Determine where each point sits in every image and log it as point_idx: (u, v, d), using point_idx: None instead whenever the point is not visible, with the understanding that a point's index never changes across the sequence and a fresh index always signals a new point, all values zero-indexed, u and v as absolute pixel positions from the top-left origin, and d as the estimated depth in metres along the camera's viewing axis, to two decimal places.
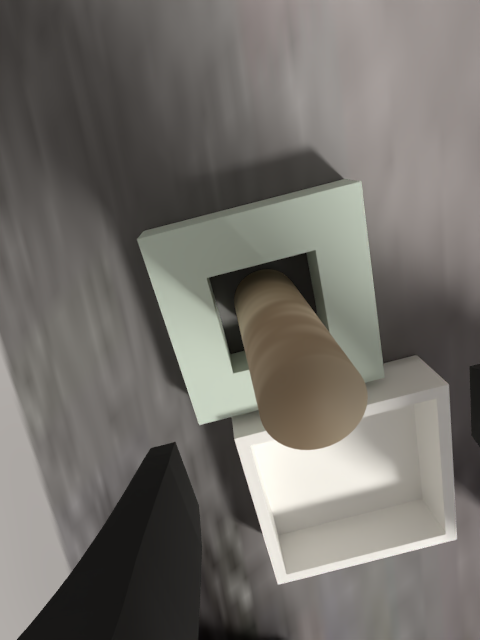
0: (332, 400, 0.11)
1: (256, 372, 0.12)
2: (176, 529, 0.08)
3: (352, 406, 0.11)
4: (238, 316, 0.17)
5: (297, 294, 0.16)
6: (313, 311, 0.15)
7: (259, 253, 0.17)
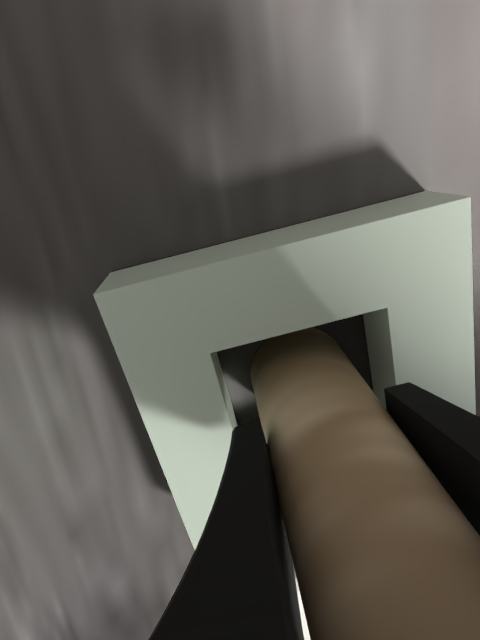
0: None
1: (321, 625, 0.06)
2: (276, 504, 0.08)
3: None
4: (261, 412, 0.11)
5: (362, 386, 0.10)
6: (398, 427, 0.09)
7: (296, 314, 0.10)
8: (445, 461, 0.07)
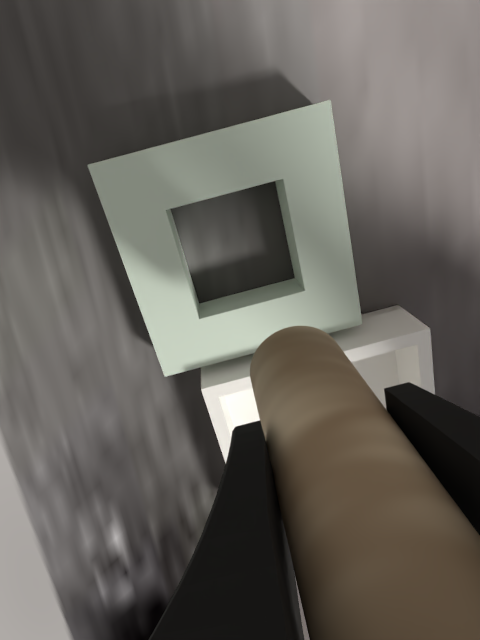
0: None
1: (320, 624, 0.05)
2: (276, 504, 0.08)
3: None
4: (260, 411, 0.11)
5: (361, 385, 0.10)
6: (397, 425, 0.09)
7: (222, 182, 0.15)
8: (445, 461, 0.07)
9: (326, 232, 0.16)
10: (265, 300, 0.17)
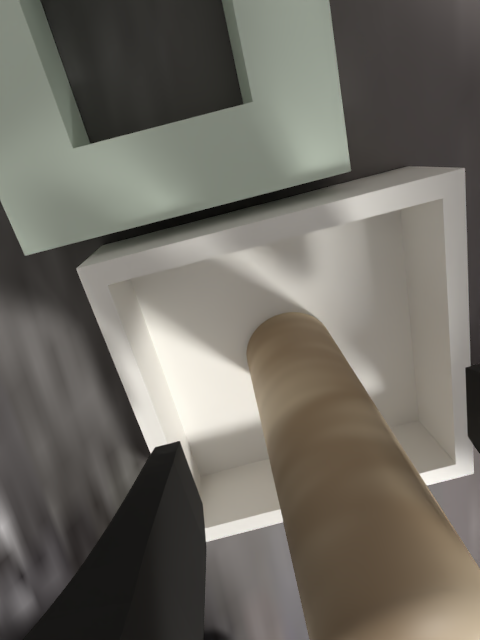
0: (446, 639, 0.06)
1: (303, 566, 0.07)
2: (181, 528, 0.08)
3: None
4: (256, 391, 0.12)
5: (345, 369, 0.11)
6: (374, 405, 0.10)
7: None
8: None
9: None
10: (186, 119, 0.10)
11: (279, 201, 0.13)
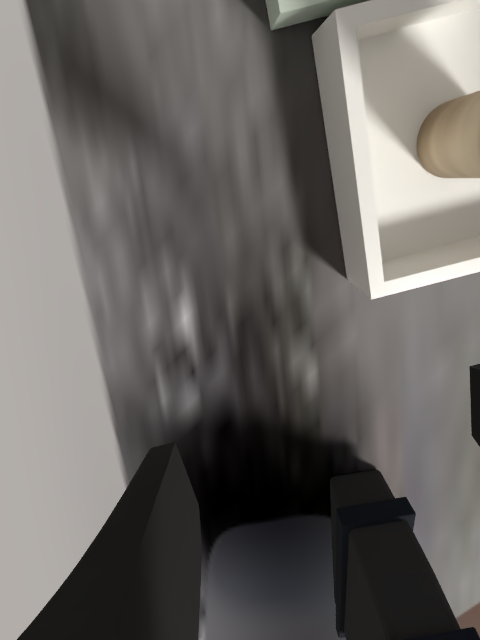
0: None
1: None
2: (176, 529, 0.08)
3: None
4: (447, 131, 0.15)
5: None
6: None
7: None
8: None
9: None
10: None
11: None
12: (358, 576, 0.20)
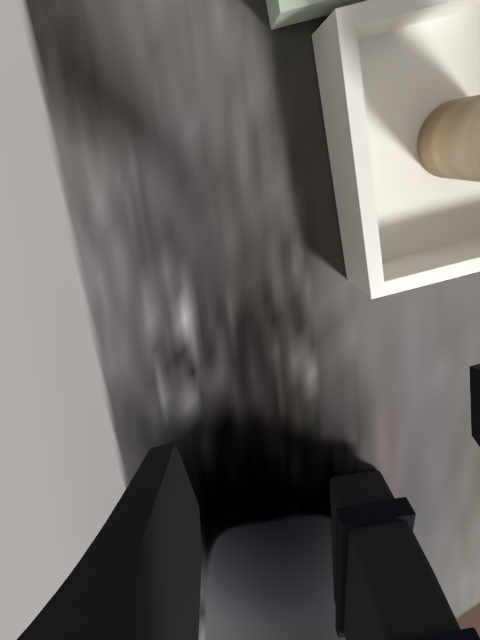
0: None
1: None
2: (176, 529, 0.08)
3: None
4: (451, 136, 0.15)
5: None
6: None
7: None
8: None
9: None
10: None
11: None
12: (358, 576, 0.20)
